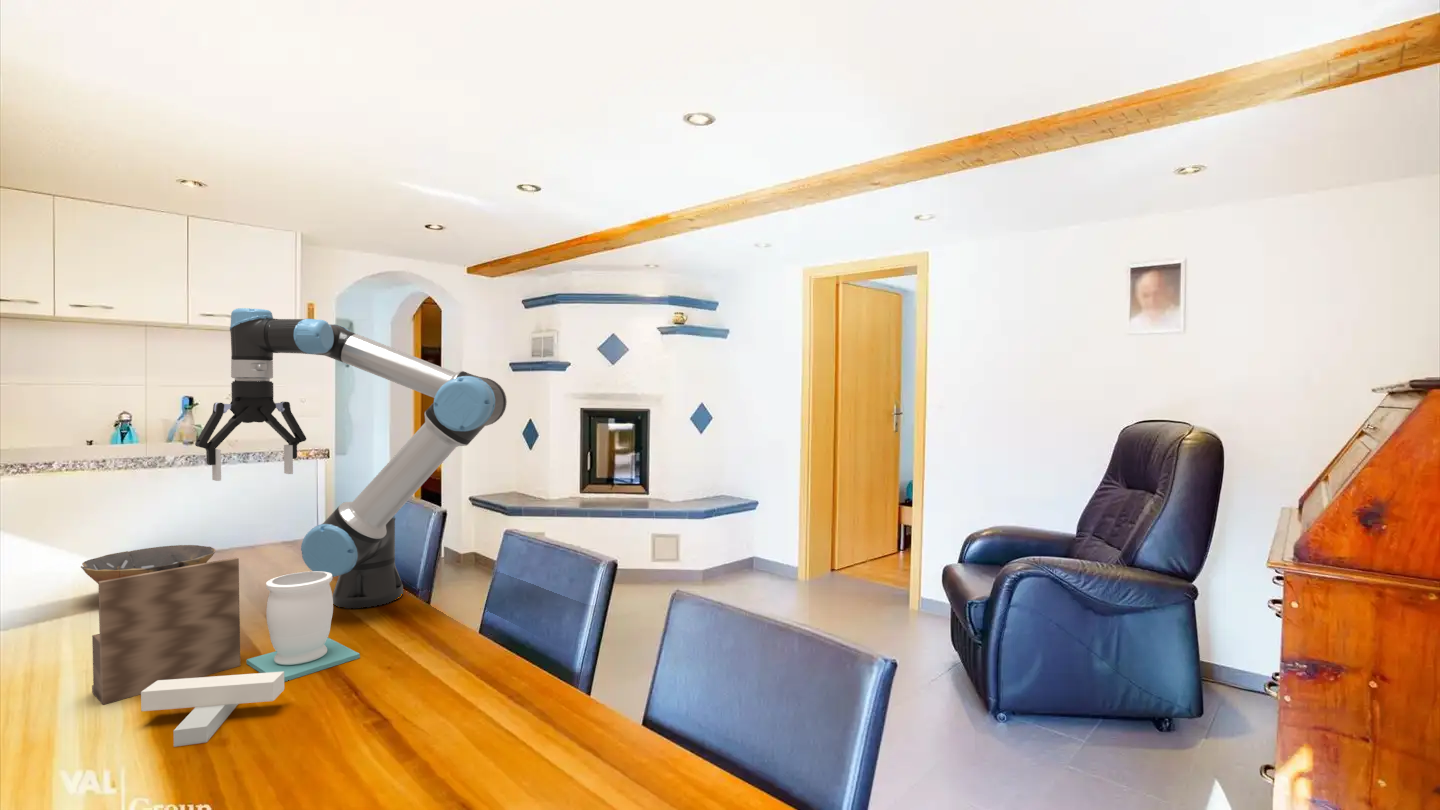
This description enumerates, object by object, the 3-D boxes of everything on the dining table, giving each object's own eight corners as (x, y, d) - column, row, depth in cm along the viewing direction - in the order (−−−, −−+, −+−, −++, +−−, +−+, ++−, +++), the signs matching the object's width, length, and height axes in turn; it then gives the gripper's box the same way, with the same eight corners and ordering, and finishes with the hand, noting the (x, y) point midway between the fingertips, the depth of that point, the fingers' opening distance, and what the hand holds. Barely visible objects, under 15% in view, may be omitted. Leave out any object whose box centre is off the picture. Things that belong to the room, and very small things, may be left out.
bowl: (233, 591, 166) (232, 552, 166) (102, 621, 146) (101, 576, 145) (191, 575, 180) (190, 539, 180) (66, 600, 159) (65, 559, 159)
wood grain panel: (226, 656, 127) (224, 552, 127) (240, 665, 123) (238, 558, 123) (92, 692, 112) (89, 575, 112) (102, 704, 108) (100, 582, 107)
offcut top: (141, 711, 101) (140, 691, 101) (157, 699, 105) (157, 680, 105) (273, 700, 105) (273, 682, 105) (284, 689, 109) (284, 671, 109)
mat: (326, 640, 135) (326, 636, 135) (359, 657, 127) (359, 653, 127) (246, 663, 124) (246, 659, 124) (277, 684, 116) (277, 679, 116)
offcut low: (223, 695, 113) (223, 677, 113) (251, 692, 114) (250, 674, 114) (173, 751, 96) (173, 730, 96) (206, 746, 97) (206, 726, 97)
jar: (262, 672, 118) (261, 589, 118) (271, 651, 127) (270, 574, 127) (331, 662, 123) (330, 581, 123) (335, 642, 132) (334, 567, 132)
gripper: (187, 379, 133) (189, 485, 134) (321, 380, 153) (322, 472, 154) (175, 379, 137) (177, 481, 138) (307, 380, 158) (308, 469, 158)
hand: (254, 477), depth 146 cm, fingers open, 13 cm apart
